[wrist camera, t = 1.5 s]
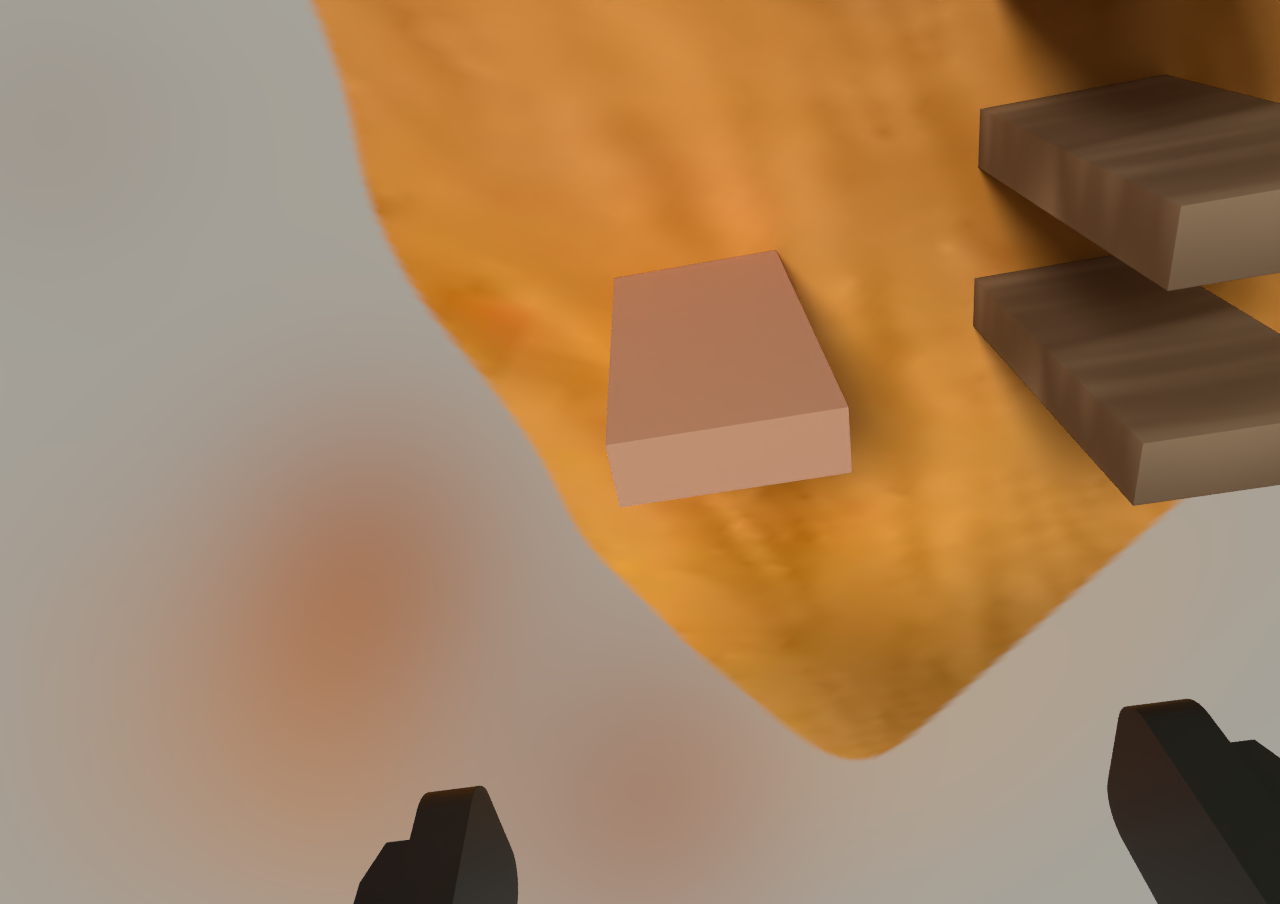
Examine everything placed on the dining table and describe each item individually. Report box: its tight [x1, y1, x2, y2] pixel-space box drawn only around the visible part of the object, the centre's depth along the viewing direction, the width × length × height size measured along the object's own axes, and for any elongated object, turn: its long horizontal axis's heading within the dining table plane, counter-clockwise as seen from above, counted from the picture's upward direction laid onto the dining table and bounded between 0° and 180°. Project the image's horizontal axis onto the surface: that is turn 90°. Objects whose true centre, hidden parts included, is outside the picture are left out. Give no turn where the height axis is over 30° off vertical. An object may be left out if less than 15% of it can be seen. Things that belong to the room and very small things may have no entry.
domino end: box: [605, 250, 852, 507], centre depth 22 cm, size 2×5×10 cm, turn 100°
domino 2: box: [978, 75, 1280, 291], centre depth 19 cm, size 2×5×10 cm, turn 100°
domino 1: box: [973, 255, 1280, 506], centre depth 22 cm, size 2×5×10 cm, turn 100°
